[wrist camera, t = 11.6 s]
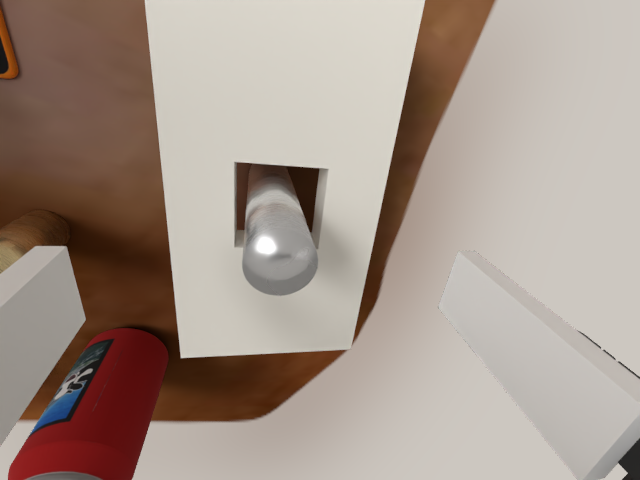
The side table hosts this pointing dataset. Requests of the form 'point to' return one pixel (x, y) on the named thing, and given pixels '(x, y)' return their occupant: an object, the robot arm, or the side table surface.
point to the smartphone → (6, 53)
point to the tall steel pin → (276, 234)
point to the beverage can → (98, 412)
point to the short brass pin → (31, 235)
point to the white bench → (275, 153)
